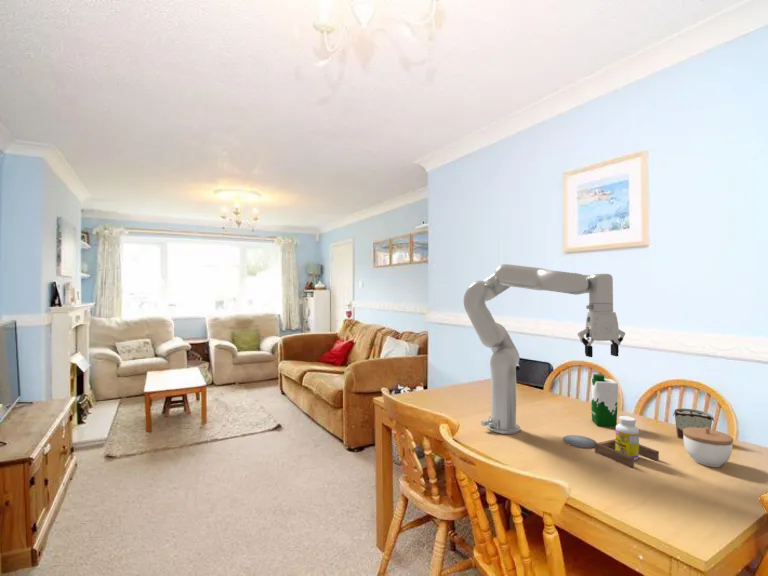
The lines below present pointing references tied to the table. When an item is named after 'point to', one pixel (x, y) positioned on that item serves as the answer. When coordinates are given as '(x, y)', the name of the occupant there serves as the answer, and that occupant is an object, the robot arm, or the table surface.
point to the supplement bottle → (627, 437)
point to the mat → (579, 441)
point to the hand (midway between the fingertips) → (601, 356)
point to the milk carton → (604, 401)
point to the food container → (691, 420)
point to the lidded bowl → (707, 446)
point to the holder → (609, 451)
